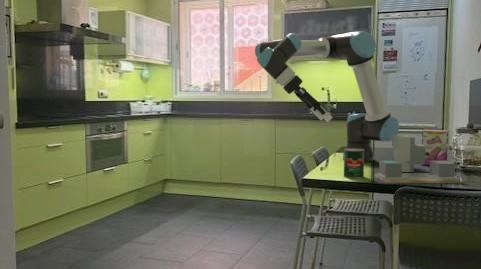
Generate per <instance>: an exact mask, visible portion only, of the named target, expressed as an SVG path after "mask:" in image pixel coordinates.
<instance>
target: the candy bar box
mask: <svg viewBox="0 0 481 269" xmlns="http://www.w3.org/2000/svg"><path fill="white" fill-rule="evenodd" d="M421 136H422V138H421V145H424V146H426V152H428V153H429V155H426V157H425V164H420V165H421V166H424V167H425V166H427V167H430V161H448V162H450V161H449V159H450V141H451V139H450V138H451V130H444V129H443V130H442V129H441V130H440V129H439V130H438V129H423V130H422V135H421Z"/></svg>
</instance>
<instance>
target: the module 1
mask: <svg viewBox="0 0 481 269" xmlns="http://www.w3.org/2000/svg"><path fill="white" fill-rule="evenodd" d="M378 164H379V165H378V167H379V168H378V173H379V174H381V175H383V176H384V177H401V175H402V164H401V163H398V162H396V161H392V160H379V161H378Z"/></svg>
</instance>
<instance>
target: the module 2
mask: <svg viewBox="0 0 481 269" xmlns="http://www.w3.org/2000/svg"><path fill="white" fill-rule="evenodd" d="M455 169H456V163H453V162H451V161H449V162H448V161H430V166H429V173H430V174H433V175H435V176H438V177H454V176H456V175H455V171H456V170H455Z"/></svg>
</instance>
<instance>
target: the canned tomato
mask: <svg viewBox="0 0 481 269" xmlns="http://www.w3.org/2000/svg"><path fill="white" fill-rule="evenodd" d="M343 154H344V160H343V178H347V179H362V177H363V178H364V177H365V175H364V174H365V162H364V149H358V148H347V149H346V148H343Z"/></svg>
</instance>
